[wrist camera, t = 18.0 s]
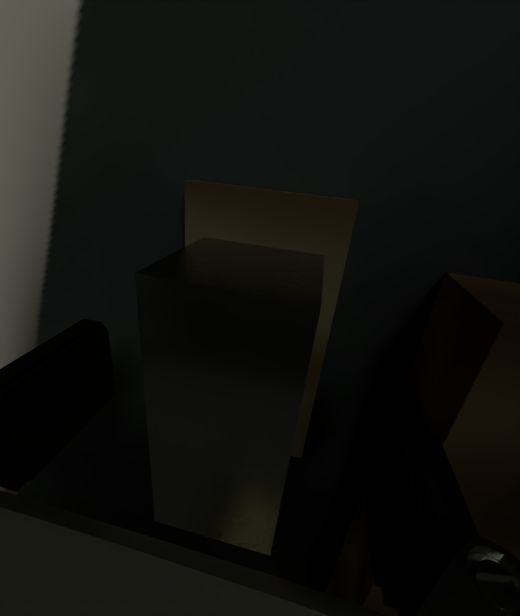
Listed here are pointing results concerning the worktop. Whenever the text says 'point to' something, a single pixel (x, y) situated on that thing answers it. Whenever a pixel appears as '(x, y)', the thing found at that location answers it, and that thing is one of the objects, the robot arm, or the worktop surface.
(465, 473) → the plane body
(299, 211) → the cork pad
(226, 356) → the black rectangular block
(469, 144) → the worktop surface
